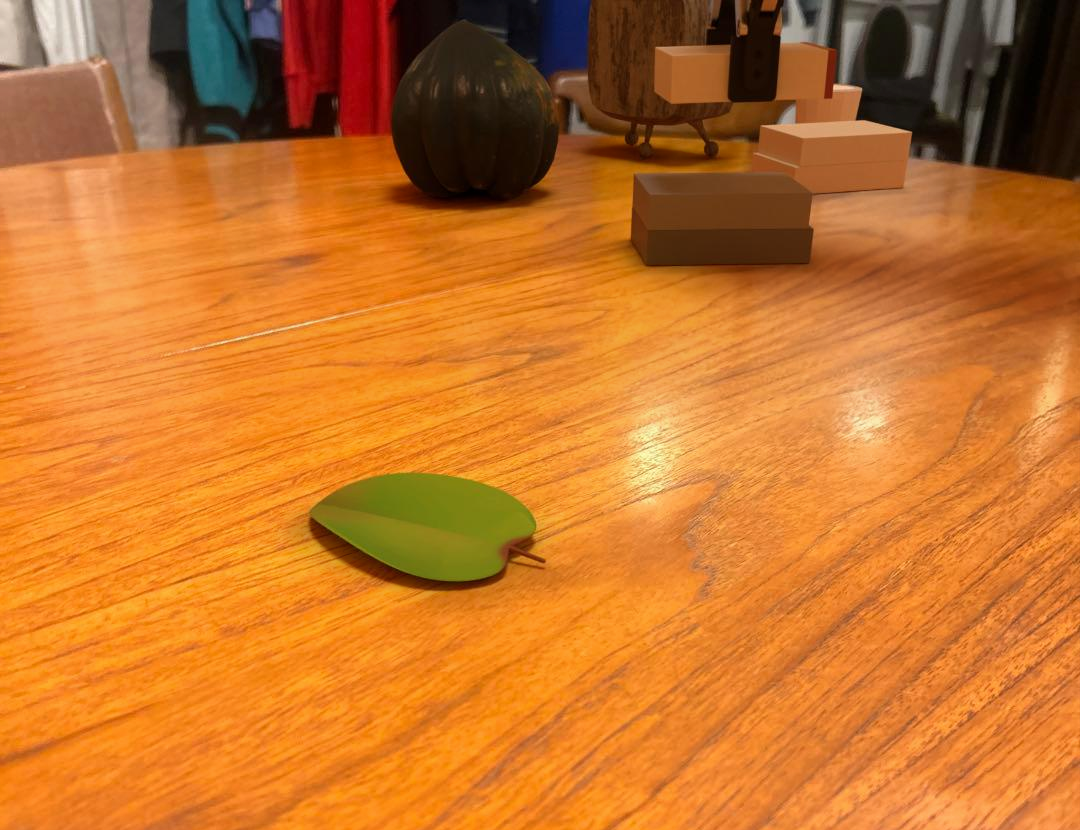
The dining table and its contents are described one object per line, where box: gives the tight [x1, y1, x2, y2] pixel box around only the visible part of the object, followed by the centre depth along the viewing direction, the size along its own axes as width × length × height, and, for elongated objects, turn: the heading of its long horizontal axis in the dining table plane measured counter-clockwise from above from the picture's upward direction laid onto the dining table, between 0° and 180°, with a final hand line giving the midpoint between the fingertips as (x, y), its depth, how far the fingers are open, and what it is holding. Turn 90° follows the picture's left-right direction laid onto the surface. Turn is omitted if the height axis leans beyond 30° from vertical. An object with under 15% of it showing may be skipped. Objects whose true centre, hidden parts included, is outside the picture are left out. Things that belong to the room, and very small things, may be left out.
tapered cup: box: [794, 83, 863, 124], centre depth 117 cm, size 7×7×7 cm
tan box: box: [654, 41, 838, 104], centre depth 76 cm, size 11×7×3 cm, turn 94°
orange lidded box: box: [750, 119, 913, 195], centre depth 104 cm, size 12×8×5 cm, turn 109°
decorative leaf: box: [308, 472, 547, 582], centre depth 43 cm, size 8×9×1 cm
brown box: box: [630, 171, 815, 267], centre depth 81 cm, size 12×8×5 cm, turn 94°
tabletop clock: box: [586, 0, 734, 159], centre depth 112 cm, size 14×9×25 cm, turn 49°
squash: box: [390, 19, 560, 201], centre depth 98 cm, size 14×15×15 cm
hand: (738, 92), depth 77 cm, fingers closed on tan box, 7 cm apart
